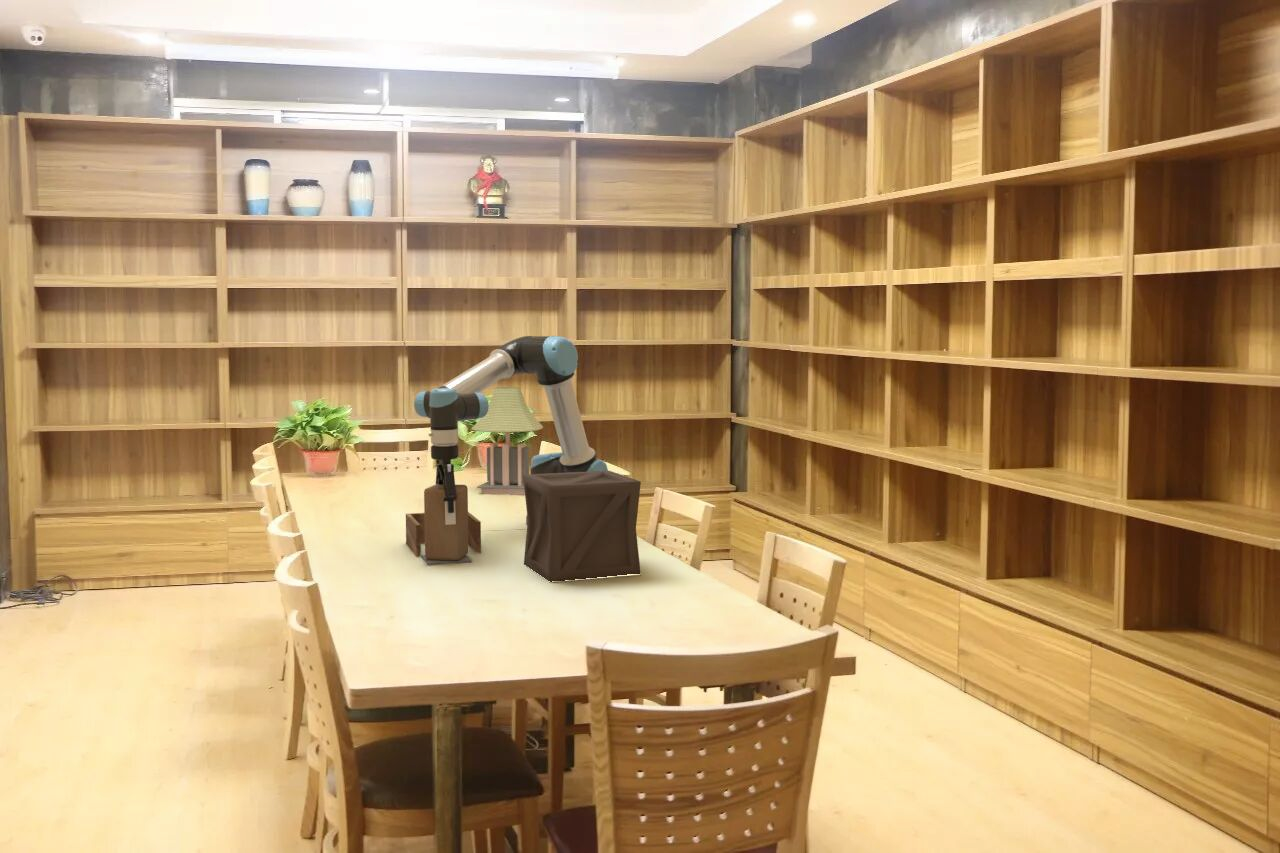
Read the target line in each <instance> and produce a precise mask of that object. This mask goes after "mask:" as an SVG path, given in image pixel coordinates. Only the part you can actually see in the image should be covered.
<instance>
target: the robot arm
mask: <svg viewBox="0 0 1280 853" xmlns="http://www.w3.org/2000/svg"><path fill="white" fill-rule="evenodd" d="M578 361H579V354H578V350H577V348H576V346H575V344H574V343H573V342H572V341H571V340H570V339H568V338H567V337H565V336H557V335H550V336H549V335H548V336H547V335H546V336H543V335H540V336H539V335H538V336H537V335H536V336H535V335H534V336H533V335H524V336H520V337H518V338H515V339H512V340H511V341H508V342H506V343H504V344H502V345H500V346H499V347H497V348H495V349H493V350H492V351H491V352H490V353H489V356H488V357H487V358H485V359H484V360H482V361H480V362H478V363H476V364H475V365H473V366H472V367H470V368H469V369H467V370H465V371H464V372H461V373H460V374H459V375H458V376H455V377H454V378H452V379H450V380H449V381H447V382H446V383H444V384H442V385H440V386H438V387H437V388H433V389H432V390H426V391H420V392H419V393H417V395H416V396H415V398H414V401H413V407H414V410H415V412H416V414H417V415H418V416H420V417H423V418H428V419H429V420H430V421H429V422H430V426H429V427H430V432H429V433H428V437H430V443H431V444H432V445H431V446H430V456H431V459H432V460H435V462H436V469H435V470H436V471H435V473H436V474H435V485H436V484H444V491H445V497H446V498H444V499H443V501H445V524H446V525H451V524H456V513H455V499H457V496H456V487H455V485H456V481H455V480H456V479H455V470H454V469H455V465H454V464H453V463H452V461H451V460H455V459H458V458H459V445H458V443H459V423H458V422H462V421H463V422H464V421H468V420H469V421H472V420H473V421H475V420H480V419H481V418H482V417H484V416H485V415H486V414H487V412H488V409H489V400H488V398H487V397H486V395H485V394H484V393H481V392H482V391H484V390H485V389H487V388H489V387H490V386H492V385H493V384H495V383H496V382H498V381H500V380H502V379H509V378H511V377H512V376H515V375H521V374H523V375H524V374H529V375H530V374H531V375H535V376H536V377H535V378H536V381H537V384H538V385H539V386H541V387H543V388H544V391H545V395H546V398H547V401H548V405H549V409H550V414H551V417H552V420H553V424H554V427H555V430H556V434H557V437H558V438H557V439H558V441H559V445H560V448H561V452H560V451H559V452H551V453H543V454H537V455H534V456H532V458H531V460H530V461H531V464H530V467H529V470H530V474H548V473H569V472H589V471H609V468H608V466H607V464H606V462H605V461H604V460H602V459H598V458H597V453H596V451H595V449H594V448H593V447H590V445H589V441H588V439H587V435H586V431H585V427H584V423H583V420H582V415H581V412H580V408H579V404H578V401H577V398H576V393H575V390H574V386H573V382H572V380H573V378H574V376H575V371H576V369H577V368H578V365H579V363H578ZM525 517H526V519H525V524H526V525H527V524H528V517H527V515H526V516H525Z"/></svg>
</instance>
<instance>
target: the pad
mask: <svg viewBox="0 0 1280 853" xmlns="http://www.w3.org/2000/svg"><path fill="white" fill-rule="evenodd" d="M420 557H421V558H422V559H423V561H424V562H425V564H426V565H427V566H434V565H435V566H437V565H450V564H452V565H453V564H467V563H472V561H473V560H472V559H471V558H470V557H469V556H468V554H467V555H466V556H464V557H462V558H461V559H459V560H457V561H451V560H428V559H426V557H425V554H421V556H420Z"/></svg>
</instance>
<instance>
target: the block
mask: <svg viewBox="0 0 1280 853" xmlns="http://www.w3.org/2000/svg"><path fill="white" fill-rule="evenodd" d="M455 487H456V496H457V499H455V513H456V524H451V525H446V524H445V501H443V499H444V498H446V497H445V491H444V484H436V483H435V484H433V485H431V486H429V487H427V488H425V489H424V491H423V501H424V504H423V507H424V510H423V511H424V512H423V513H424V518H425V543H424V555H425V557H426V559H428V560H451V561H457V560H459V559H461V558H462V557H464V556H466V555H467V556H468V554H469V545H468V512H469V505H468V504H469V499H468V498H469V497H468V496H469V495H468V493H469V491H468V490H469V489H468V486H467V485H466V484H455Z"/></svg>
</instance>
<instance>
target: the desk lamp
mask: <svg viewBox="0 0 1280 853" xmlns="http://www.w3.org/2000/svg"><path fill="white" fill-rule="evenodd" d="M488 405H489V409H488V412H487V414H486V415H485V416H484V417H482V418H479V419H478V421H477V422H476V423H475V424H474V426H472V428H471V431H476V432H485V433H505V443H503V444H501V445H502V446H499V442H498V441H497V442H492V443H490V444H489V446H488V447H486V480H487V482H484V483H482V484H480V485H477V486H476V488H477V489H481V495H501V494H510V496H525V490H524V481H523V475H527V474H530V447H528V446H527V444H526V442H521V443H518V444H517V446H514V442H511V436H510V433H522V432H523V433H526V432H536V431H539V430H542V429H543V428H544V426H543V425H542V423H540V421H538V420H537V418H536V417H535V416H534V415H533V414H532V412H531V410H530V409H529V407H528V406H527V403H526V401H525V399H524V396H523V393H522V390H521V387H518V386H516V387H515V386H503V387H502V386H498V387H494V388H493V391H492V395H491V397H490V400H489V402H488Z"/></svg>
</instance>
